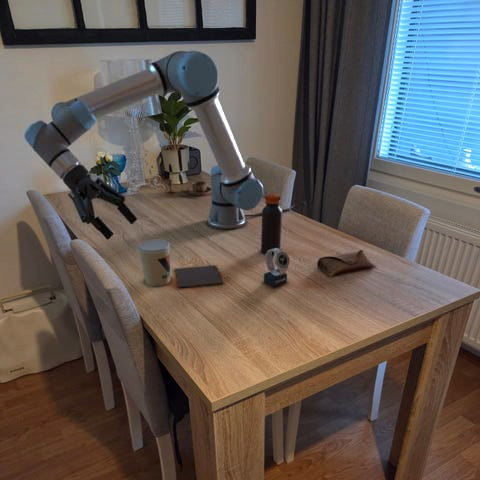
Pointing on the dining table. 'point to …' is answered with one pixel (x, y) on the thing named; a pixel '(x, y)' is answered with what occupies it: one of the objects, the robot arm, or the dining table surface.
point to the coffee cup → (155, 261)
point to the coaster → (197, 276)
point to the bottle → (271, 223)
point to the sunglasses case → (344, 263)
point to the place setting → (194, 189)
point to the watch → (278, 275)
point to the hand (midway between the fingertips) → (123, 229)
